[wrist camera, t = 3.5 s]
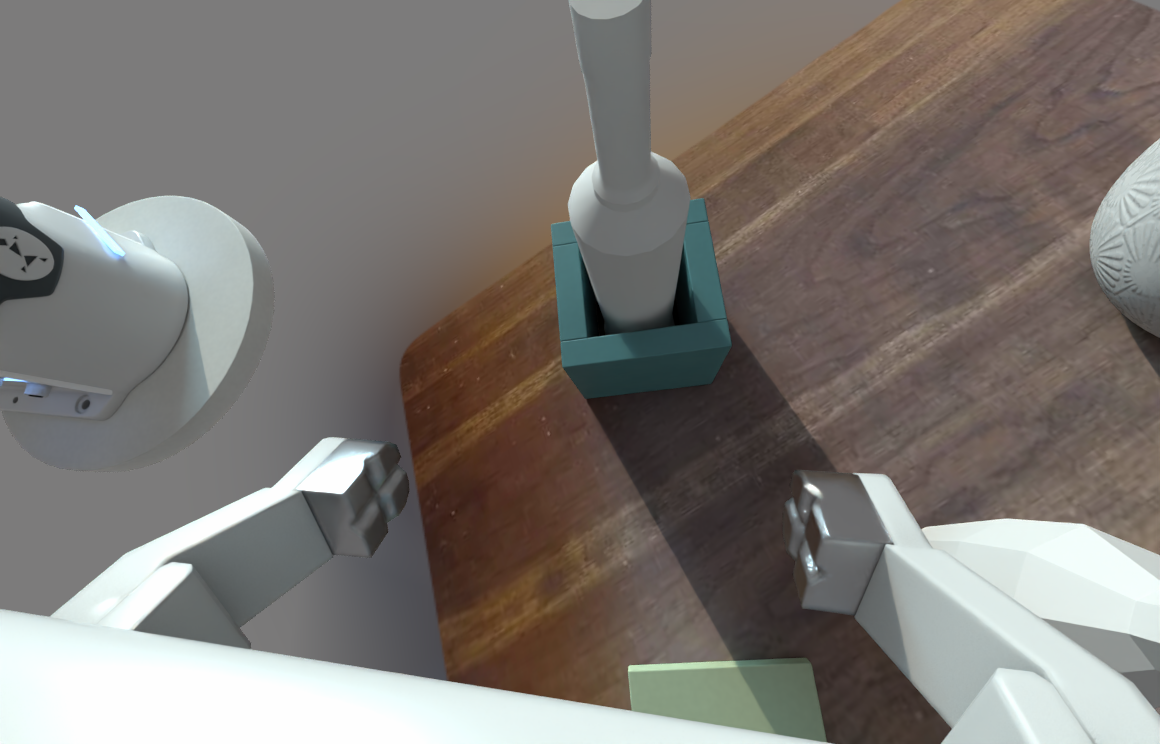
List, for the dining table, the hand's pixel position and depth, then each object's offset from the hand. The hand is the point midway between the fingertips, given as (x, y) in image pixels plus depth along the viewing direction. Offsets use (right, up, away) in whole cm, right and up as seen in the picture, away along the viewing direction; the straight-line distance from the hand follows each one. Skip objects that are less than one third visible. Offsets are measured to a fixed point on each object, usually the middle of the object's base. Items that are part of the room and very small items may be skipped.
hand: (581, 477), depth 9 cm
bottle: (+5, +5, +26) cm, 27 cm away
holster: (+5, +5, +26) cm, 27 cm away
